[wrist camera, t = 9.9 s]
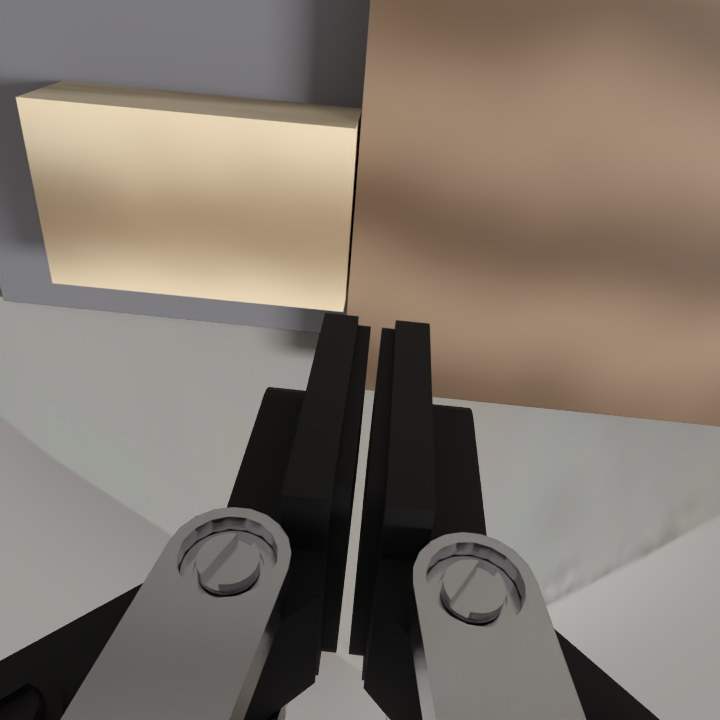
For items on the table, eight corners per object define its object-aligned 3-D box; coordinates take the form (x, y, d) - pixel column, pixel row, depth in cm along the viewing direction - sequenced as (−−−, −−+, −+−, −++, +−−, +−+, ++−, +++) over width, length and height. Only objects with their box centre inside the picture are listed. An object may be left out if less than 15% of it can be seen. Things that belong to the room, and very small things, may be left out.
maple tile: (63, 80, 21) (15, 97, 19) (362, 108, 21) (355, 128, 19) (89, 249, 25) (52, 283, 22) (350, 275, 24) (343, 311, 22)
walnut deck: (378, -48, 19) (374, -49, 17) (922, 2, 19) (987, 7, 17) (346, 353, 27) (341, 387, 24) (736, 393, 26) (765, 431, 24)
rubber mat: (-75, -51, 20) (-82, -51, 20) (375, -9, 20) (374, -9, 19) (7, 297, 26) (3, 300, 26) (348, 332, 26) (348, 335, 26)
